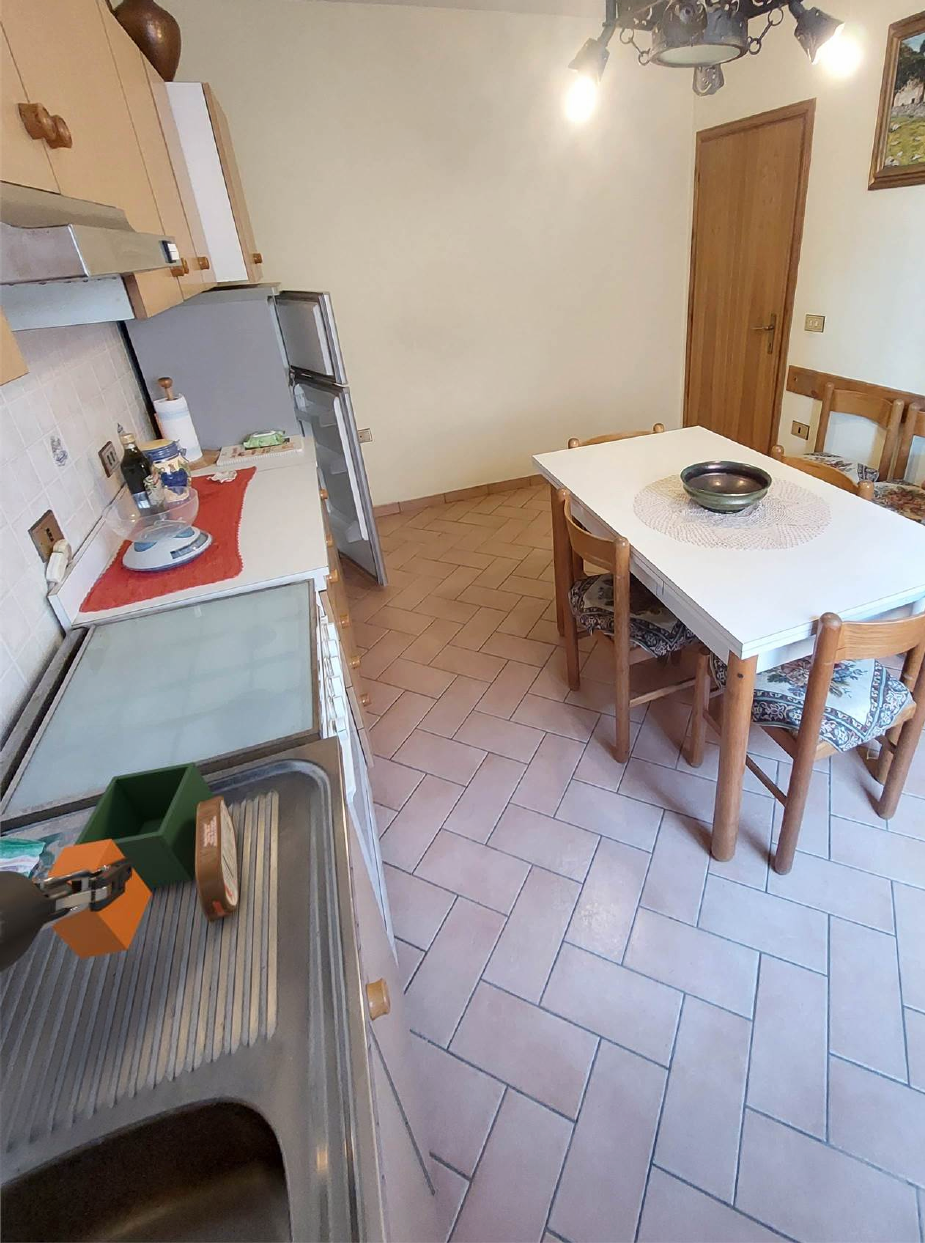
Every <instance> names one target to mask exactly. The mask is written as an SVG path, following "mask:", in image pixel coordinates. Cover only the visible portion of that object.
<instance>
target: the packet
mask: <svg viewBox="0 0 925 1243" xmlns="http://www.w3.org/2000/svg"><path fill="white" fill-rule="evenodd" d="M122 858H125V857H124V855H123V854H122V853H121V851H120V850H119V849H118V847H117V846H116V845H115V843H114V842H113V841H112V839H108V840H102V841H97V842H92V843H86V844H81V845H75V846H74V845H71V846H65V847H64V848H63V849H62V851H61V852H60V854H59V856H58V858H57V859H56V861H55V863H54V864H53V866H52V868H51V869H50V871H49V872H48V874H47V876H46V878H49V877H58V876H61V875H64V874H66V873H69V872H72V871H75V870H82V869H89V870H90V871H91V870H94V869H97V868H100V866H103V865H108V864H110V863H113V862H115V861H117V860H119V859H122ZM93 878H94V877H93ZM68 883H70V884H71V880H70V881H68ZM89 885H90V881H89ZM152 893H153V892H151V890H150V889H148V888H147V886H146V885H145V884H144V882H143V881H142V880H141V878H140V877H139V876H138V874H137V873H136V872H135V870H134V869H133V868H132V877H131V878H130V879H129V880H128V881H127V882H125V892H124V893H123V894H122V895H121V896H120V897H118V898H117V899H116V900H115V901H113V902H112V903H111V904H110V905H109V906H107V907H106V908H104V909H102V910H101V911H98V912H95V911H94V912H90V909H88V907H89V905H88V907H87V908H86V909H85V910H84V911H81V912H79V913H76V914H74V915H72V916H69V917H67V918H64V919H62V920H60V921H58V922H56V924H55V925H54V926H53V927H51V929H52V930H53V932H55V933H56V934H57V935H58V937H60V939H61V940H62V941H63V942H64V943H65V944H66V945H67V946H68V947H69V948H70V950H72V951H73V952H74V954H76V955H77V957H78V958H79V959H80V960H83V959H89V958H93V957H99V956H103V955H108V954H114V953H118V952H123V951H128V950H129V948H130V945H131V943H132V941H133V939H134V936H135V934H136V931H137V929H138V926H139V924H140V922H141V919H142V917H143V915H144V913H145V910H146V908H147V906H148V903H149V901H150V899H151V897H152Z"/></svg>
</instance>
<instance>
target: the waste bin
mask: <svg viewBox="0 0 925 1243" xmlns="http://www.w3.org/2000/svg"><path fill="white" fill-rule="evenodd" d="M212 798H215V796H214V794H213V792H212V791H211V789H210V787H209V786H208V784H207V781H206V780H205V779H204V777H203V775H202V774H201V772H200V770H199V768H198V766H197V765H196V763H195V762H194V761H192V762H187V763H186V762H185V763H181V764H176V765H169V766H165V767H158V768H154V769H153V768H152V769H148V770H141V771H136V772H131V773H127V774H126V773H125V774H121V775H116V776H113V777H112V778H111V780H110V782H109V784H108V785H107V787H106V788H105V791H104V792H103V794H102V796H101V798H100V799H99V801H98V803H97V804H96V806H95V808H94V809H93V811H92V813H91V814H90V816H89V818H88V820H87V822H86V823H85V825H84V827H83V829H82V830H81V832H80V834H79V835H78V837H77V839H76V840H75V842H74V844H73V846H75V845H81V844H86V843H92V842H97V841H102V840H108V839H112V841H113V842H114V843H115V845H116V846H117V847H118V849H119V850H120V851H121V853H122V854H123V855H124V857H125V858H126V857H130V858H131V861H133V862H132V868H133V869H134V870H135V872H136V873H137V874H138V876H139V877H140V878H141V880H142V881H143V882H144V884H145V885H146V886H147V888H148V889H149V890H150V889H156V888H160V887H166V886H170V885H176V884H180V883H181V884H182V883H185V882H191V881H193V879H194V877H195V875H196V874H195V850H196V815H197V807H198V804H199V803H200V802H204V801H207V800H210V799H212Z"/></svg>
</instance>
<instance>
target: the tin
mask: <svg viewBox="0 0 925 1243" xmlns="http://www.w3.org/2000/svg"><path fill="white" fill-rule="evenodd" d="M237 846H238V845H237V837H236V829H235V825H234V820H233V817H232V815H231V812H230V811H229V809H228V806H227V804H226V801H225V797H224V796H222V795H219V796H214V798H212V799H210V800H207V801H204V802H200V803H199V804H198V807H197V815H196V850H195V874H194V875H195V882H196V888H197V894H198V899H199V902H200V906H201V909H202V912H203V915H204V917H205V918H206V920H207V921H208V922H209V924H213V923H214V924H215V922H216V921H218V920H220V919H222V918H225V917H227V916H229V915H231V914H232V913H234V912H235V911H236V910H237V908H238V906H239V866H238V847H237Z"/></svg>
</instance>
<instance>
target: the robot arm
mask: <svg viewBox="0 0 925 1243" xmlns="http://www.w3.org/2000/svg"><path fill="white" fill-rule="evenodd" d="M132 862H133V861H131V858H130V857H126V858H122V859H119V860H117V861H115V862H113V863H110V864H108V865H103V866H100V868H97V869H94V870H91V871H90V870H89V869H82V870H75V871H72V872H69V873H66V874H64V875H61V876H58V877H49V878H47V877H41V876H40V877H33V878H29V877H28V876H27V875H26V874H23V873H22V872H19V871H14V870H0V973H2V972H3V971H6V970H7V969H9V968H10V967H11V966H13V965H14V964H15V963H17V962H18V961H19V960H20V959H21V958H22V957H23V956H24V955H25V954H26V953H27V951H28V950H29V949H30V947H31V945H32V944H33V943H34V941H35V940H36V937H37V936H38V934H39V933H41V932H43V931H46V930H48V929H50V928H51V927H53V926H54V925H55V924H56V922H58V921H60V920H62V919H64V918H67V917H69V916H72V915H74V914H76V913H79V912H81V911H84V910H85V909H86V908H87V907H88V905H89V907H88V909H90V912H94V911H95V912H98V911H101V910H102V909H104V908H106V907H107V906H109V905H110V904H111V903H112V902H113V901H115V900H116V899H117V898H118V897H120V896H121V895H122V894H123V893H124V892H125V882H127V881H128V880H129V879H130V878H131V877H132ZM93 877H94V878H93ZM70 880H71V884H70V883H68V881H70ZM89 881H90V885H89ZM51 929H52V928H51Z"/></svg>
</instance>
